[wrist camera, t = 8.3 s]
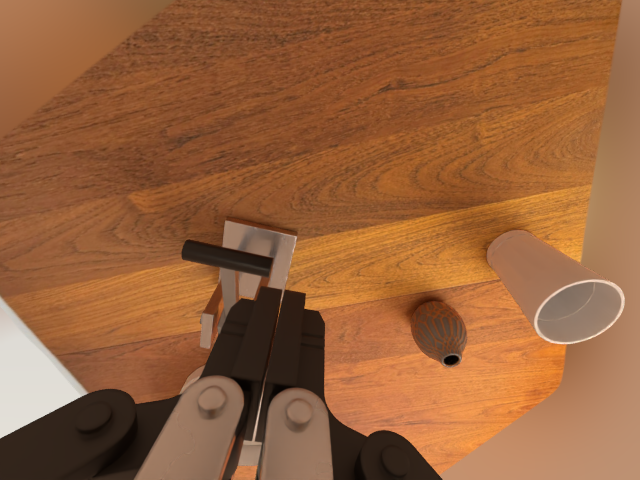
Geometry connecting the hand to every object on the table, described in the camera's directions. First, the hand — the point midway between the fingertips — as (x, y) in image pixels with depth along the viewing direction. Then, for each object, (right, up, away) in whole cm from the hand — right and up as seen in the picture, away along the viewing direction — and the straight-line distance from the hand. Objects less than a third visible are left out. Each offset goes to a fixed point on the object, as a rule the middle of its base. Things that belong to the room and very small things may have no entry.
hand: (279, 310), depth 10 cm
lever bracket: (-7, 0, +31) cm, 32 cm away
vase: (+18, -8, +35) cm, 40 cm away
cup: (+26, +1, +30) cm, 40 cm away
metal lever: (-6, -2, +17) cm, 18 cm away
